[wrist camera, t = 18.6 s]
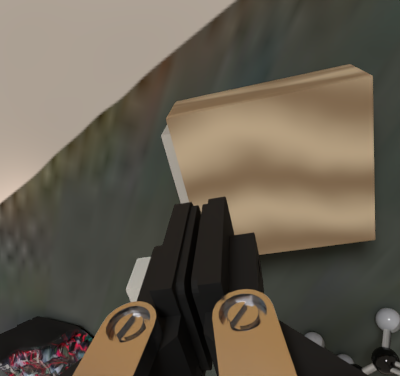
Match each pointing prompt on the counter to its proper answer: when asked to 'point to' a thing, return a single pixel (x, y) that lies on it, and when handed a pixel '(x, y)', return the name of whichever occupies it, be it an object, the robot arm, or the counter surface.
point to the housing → (284, 157)
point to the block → (137, 278)
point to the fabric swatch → (42, 347)
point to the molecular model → (382, 356)
